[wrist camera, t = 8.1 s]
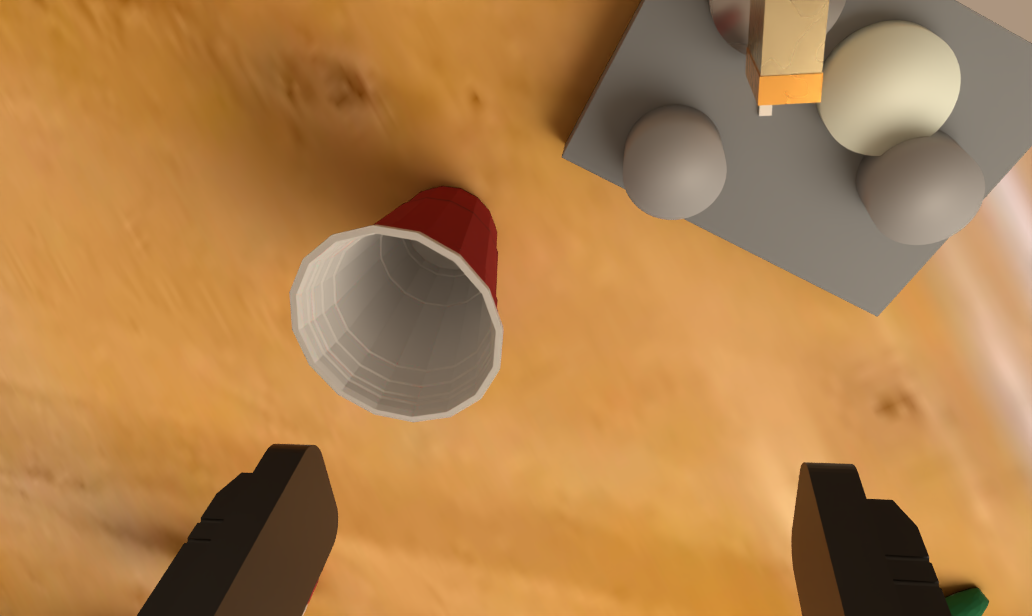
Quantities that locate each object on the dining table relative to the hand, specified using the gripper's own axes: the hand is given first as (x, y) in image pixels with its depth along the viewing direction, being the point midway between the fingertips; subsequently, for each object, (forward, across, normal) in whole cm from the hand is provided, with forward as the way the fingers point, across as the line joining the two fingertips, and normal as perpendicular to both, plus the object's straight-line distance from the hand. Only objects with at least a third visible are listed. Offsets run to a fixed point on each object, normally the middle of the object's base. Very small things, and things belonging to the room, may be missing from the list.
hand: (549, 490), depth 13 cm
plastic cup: (+32, +10, +10) cm, 35 cm away
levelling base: (+32, -9, +4) cm, 34 cm away
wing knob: (+30, -7, -3) cm, 31 cm away
